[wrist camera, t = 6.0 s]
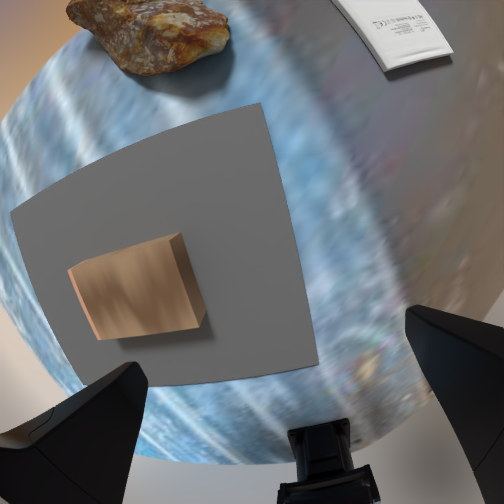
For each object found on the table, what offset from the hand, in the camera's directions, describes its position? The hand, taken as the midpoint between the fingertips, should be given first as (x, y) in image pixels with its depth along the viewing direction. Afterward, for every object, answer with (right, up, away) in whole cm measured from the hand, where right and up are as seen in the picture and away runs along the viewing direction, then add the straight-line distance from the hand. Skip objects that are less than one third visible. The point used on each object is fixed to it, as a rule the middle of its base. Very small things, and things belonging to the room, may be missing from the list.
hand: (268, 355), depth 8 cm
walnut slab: (-5, +1, +10) cm, 11 cm away
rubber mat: (-10, +1, +12) cm, 16 cm away
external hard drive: (+10, +23, +6) cm, 26 cm away
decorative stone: (-8, +21, +7) cm, 24 cm away
